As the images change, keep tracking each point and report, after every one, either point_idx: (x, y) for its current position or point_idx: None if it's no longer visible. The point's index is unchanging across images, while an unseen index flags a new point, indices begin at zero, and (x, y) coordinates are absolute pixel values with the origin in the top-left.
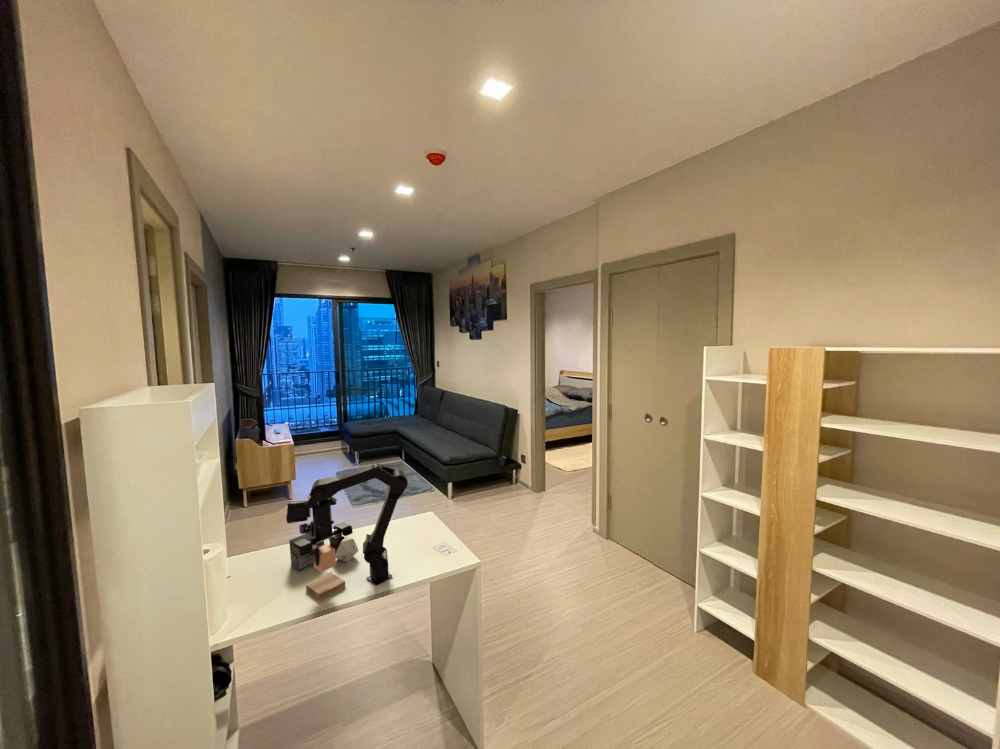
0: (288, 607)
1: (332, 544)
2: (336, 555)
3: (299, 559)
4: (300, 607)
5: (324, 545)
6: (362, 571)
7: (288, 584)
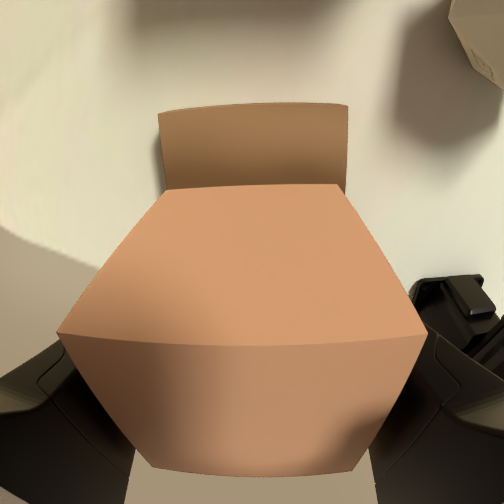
0: (68, 189)
1: (402, 450)
2: (462, 21)
3: None
4: (106, 229)
5: (344, 359)
6: (457, 209)
7: None
